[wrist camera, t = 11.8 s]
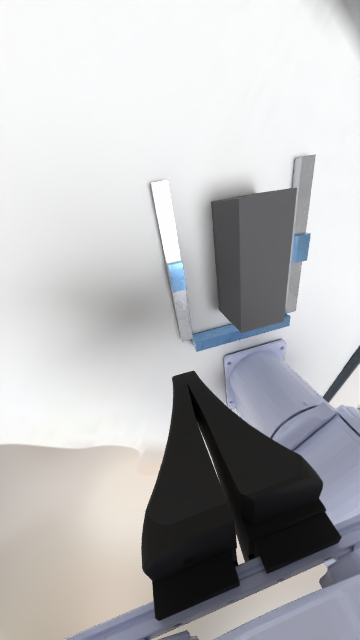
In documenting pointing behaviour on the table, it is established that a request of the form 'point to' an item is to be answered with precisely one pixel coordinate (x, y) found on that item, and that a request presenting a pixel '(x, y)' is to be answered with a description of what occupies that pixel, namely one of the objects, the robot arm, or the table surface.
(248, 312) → the dark grey block
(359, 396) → the phone case
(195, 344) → the silver and blue frame
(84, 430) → the table surface
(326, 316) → the table surface
